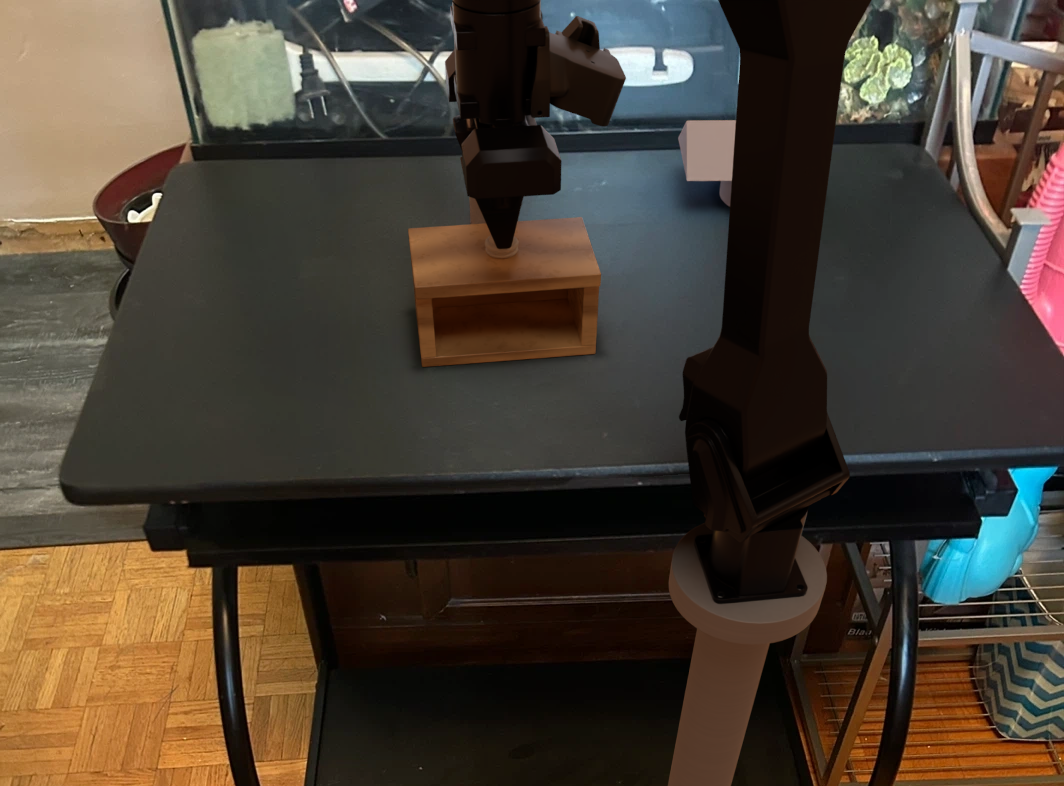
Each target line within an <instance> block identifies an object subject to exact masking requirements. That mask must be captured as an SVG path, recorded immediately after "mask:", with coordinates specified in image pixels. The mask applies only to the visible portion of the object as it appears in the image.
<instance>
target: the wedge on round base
mask: <svg viewBox="0 0 1064 786" xmlns="http://www.w3.org/2000/svg"><path fill="white" fill-rule="evenodd" d="M735 126H736V119H734V120H733V119H727V120H726V119H724V120H723V119H720V120H719V119H717V120H716V119H714V120H713V119H712V120H710V119H709V120H708V119H707V120H706V119H705V120H703V119H702V120H701V119H699V120H697V119H696V120H693V119H692V120H686V121H685V123H684V125H683V127H682V129H681V132H680V133H679V135H678V137H677V140H678V145H679V149H680V154H681V158H682V159H681V160H682V163H683V168H684V173H685V179H686V182H720V185H719V197H720V199H721V201H722V202H723V203H724V204H725V205H726V206H728V208H730V199H731V185H732V170H733V156H734V141H735Z"/></svg>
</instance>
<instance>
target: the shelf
mask: <svg viewBox="0 0 1064 786" xmlns="http://www.w3.org/2000/svg"><path fill="white" fill-rule="evenodd" d="M407 232H408V243H409V244H408V245H409V252H410V253H409V254H410V264H411V274H412V287H413V295H414V306H415V308H414V309H415V315H416V316H415V317H416V318H415V319H416V326H417V333H418V342H419V353H420V361H421V367H422V368H428V367H439V366H441V367H442V366H455V365H467V364H468V365H469V364H481V363H493V362H505V361H507V362H509V361H522V360H533V359H534V360H535V359H546V358H547V359H548V358H559V357H573V356H585V355H586V356H587V355H595V354H596V352H597V351H596V350H597V347H596V346H597V335H598V318H599V317H598V315H599V297H600V287H601V286H602V272H601V270H600V267H599V264H598V260H597V257H596V254H595V251H594V249H593V245H592V243H591V240H590V236H589V234H588V231H587V228H586V225H585V222H584V218H583V217H582V216H577V217H562V218H561V217H560V218H547V219H533V220H531V219H530V220H518V222H517V226H516V230H515V234H514V236H515V237H516V238H517V239H518V242H519V244H518V252H517V253H516V254H515V255H514V256H512V257H509V258H503V259H500V258H494V257H491V256H489V255H488V254H487V253H486V247H485V240H486V239H487V238H488V237H489V236H490V235H491V234H490V231H489V229H488V227H487V224H486V223H484V224H471V223H470V224H457V225H455V224H454V225H439V226H427V227H425V226H424V227H412V228H411V227H409V228H408V229H407Z"/></svg>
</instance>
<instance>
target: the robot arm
mask: <svg viewBox="0 0 1064 786" xmlns="http://www.w3.org/2000/svg"><path fill="white" fill-rule="evenodd" d="M717 2H718V4H719V6H720V8H721V10H722V12H723V14H724V17H725V18H726V21H727V24H728V25H729V28H730V30H731V32H732V35H733V38H734V39H735V42H736V43H737V46H738V49H739V68H738V84H737V96H736V97H737V99H736V113H735V120H736V126H735V141H734V156H733V170H732V185H731V199H730V207H729V216H728V231H727V246H726V260H725V274H724V275H725V276H724V287H723V288H724V289H723V290H724V291H723V304H722V318H721V329H720V333H719V336H718V338H717V340H716V342H715V343H714V345H713V346H712V347H711V346H710V347H709V348H706V349H704V350H702V351H700V352H697V353H695V354H692V355H690V356H688V357H687V358H686V359H685V362H684V365H683V369H682V384H683V385H682V386H683V400H682V401H683V402H682V407H681V410H680V412H679V415H678V419H679V421H680V422H684V421H685V427H684V438H685V448H686V455H687V456H686V457H687V465H688V473H689V482H690V490H691V499H692V504H693V505H694V507H696V508H697V509H698V510H700V511H701V512H702V513H703V517H704V518H705V520H704V523H705V525H706V526H707V527H708V528H709V529H710V530H714V531H713V534H706V535H698V536H696V537H695V540H694V546H695V549H696V552H697V555H698V558H699V561H700V564H701V567H702V570H703V573H704V576H705V578H706V581H707V584H708V587H709V590H710V593H711V596H712V599H713V601H714V602H715V603H717V604H729V603H740V602H750V601H761V600H771V599H781V598H792V597H802V596H804V595H806V593H807V589H808V587H807V584H806V582H805V580H804V577H803V575H802V573H801V570H800V568H799V565H798V563H797V561H796V558H795V556H796V552H797V549H798V545H799V541H800V538H801V536H802V535H803V531H804V526H805V523H806V519H807V516H808V512H809V507H810V506H811V505H813V504H815V503H817V502H818V501H821V500H822V499H824V498H826V497H830V496H833V495H835V494H837V493H838V492H839V490H840V489H841V488H842V487H843V486H844V485H845V484H846V483H847V481H848V480H849V479H850V477H851V476H850V475H851V473H850V469H849V467H848V464H847V462H846V459H845V456H844V453H843V450H842V448H841V445H840V442H839V440H838V438H837V435H836V431H835V429H834V427H833V424H832V421H831V419H830V415H829V413H828V371H827V369H826V366H825V364H824V362H823V360H822V358H821V356H820V354H819V352H818V350H817V348H816V346H815V344H814V342H813V341H812V338H811V336H810V323H811V314H812V307H813V300H814V293H815V284H816V278H817V270H818V269H817V268H818V262H819V253H820V246H821V241H822V240H821V239H822V231H823V224H824V216H825V208H826V200H827V193H828V186H829V180H830V179H829V177H830V170H831V163H832V156H833V155H832V154H833V148H834V140H835V132H836V127H837V126H836V125H837V118H838V111H839V110H838V109H839V103H840V94H841V89H842V88H841V86H842V81H843V73H844V66H845V65H844V64H845V59H846V52H847V49H848V45H849V43H850V40H851V39H852V37H853V35H854V33H855V31H856V29H857V28H858V26H859V24H860V22H861V21H862V19H863V17H864V15H865V13H866V11H867V10H868V7H869V6H870V4H871V2H872V0H717ZM451 4H452V5H450V6H449V7H450V8H449V9H450V24H451V29H452V33H453V40H454V41H453V42H454V49H453V51H451V53H450V54H449V55H448V57H447V58H446V59H445V61H444V72H445V88H446V94H447V99H448V103H456V104H457V109H458V113H459V115H455V116H453V118H452V123H453V129H454V134H455V137H456V140H457V143H458V145H459V147H460V150H461V156H460V157H459V159H460V165H461V171H462V174H463V180H464V186H465V191H466V195H467V197H468V198H469V197H471V198H474V199H475V200H476V202H477V204H478V206H479V209H480V211H481V213H482V215H483V218H484V220H485V222H486V224H487V227H488V229H489V231H490V234H491V236H492V238H493V240H494V243H495V245H496V247H497V248H498V249H508V248H511V246H512V243H513V238H514V234H515V230H516V226H517V222H518V221H519V219H520V218H519V217H520V213H521V209H522V206H523V202H524V201H523V200H524V197H537V196H551V195H555V194H557V193H559V192H560V191H562V158H561V155H560V152H559V149H558V146H557V143H556V140H555V138H554V137H553V136H552V135H551V134H550V133H549V132H548V130H547V129H546V128H545V127H544V126H542V124H537V120H536V119H540V118H542V119H543V118H550V117H551V106H553V107H555V108H557V109H559V110H562V111H564V112H567V113H571V114H573V115H576V116H580V117H582V118H585V119H588V120H590V122H591V124H592V125H595V126H599V127H604V128H605V127H608V126H609V125H610V122H611V119H612V117H613V114H614V111H615V108H616V106H617V103H618V101H619V98H620V95H621V93H622V91H623V87H624V85H625V82H626V80H627V77H626V74H625V71H624V70H623V67H622V65H621V64H620V61H619V60H618V58H617V57H615V56H614V55H613V54H612V53H611V51H610V49H608V48H605V47H604V48H603V49H601V48H600V33H599V29H598V27H597V25H596V23H595V22H594V21H592V20H589V19H587V18H584V17H582V16H578V15H576V16H574V18H573V19H572V20H571V21H570V22H569V23H568V24H567V25H566V26H565V28H564V29H563V30H562V31H560V30H556V31H555V33H553V32H550V31H549V28H548V26H547V25H545V23H544V20H543V16H544V15H543V12H542V9H541V8H542V6H541V5H542V0H451ZM799 589H801V590H799ZM718 596H721V597H718Z"/></svg>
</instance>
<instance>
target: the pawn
mask: <svg viewBox="0 0 1064 786" xmlns="http://www.w3.org/2000/svg"><path fill="white" fill-rule="evenodd" d="M518 244H519V242H518V239H517V238H516V237H515V236H514V238H513V243H512V246H511V248H508V249H498V248H497V247H496V245H495V243H494V240H493V238H492V236H491V235H490V236H489V237H488V238H487V239H486V240H485V247H486V253H487V254H488V255H489V256H491V257H494V258H500V259H503V258H509V257H512V256H514V255H515V254H516V253H517V252H518Z"/></svg>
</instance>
